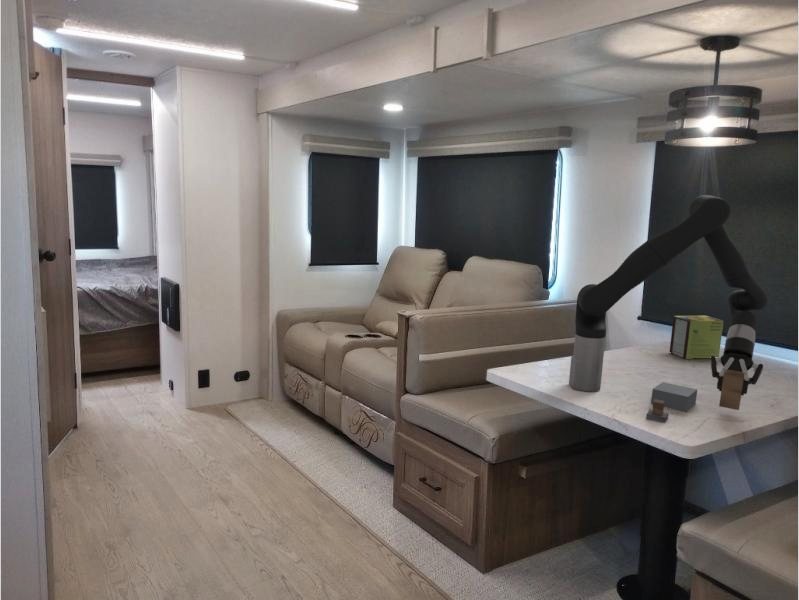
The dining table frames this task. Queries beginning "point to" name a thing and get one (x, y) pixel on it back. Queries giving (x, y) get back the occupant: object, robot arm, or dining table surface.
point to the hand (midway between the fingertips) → (731, 391)
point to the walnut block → (731, 389)
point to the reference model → (657, 412)
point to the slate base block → (675, 396)
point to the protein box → (696, 336)
